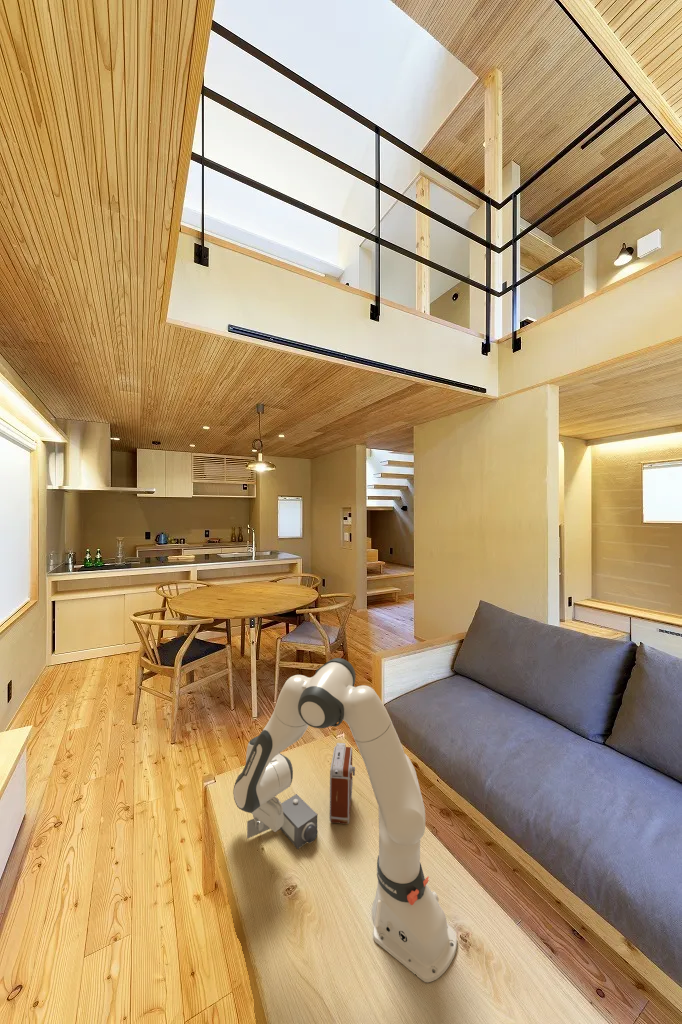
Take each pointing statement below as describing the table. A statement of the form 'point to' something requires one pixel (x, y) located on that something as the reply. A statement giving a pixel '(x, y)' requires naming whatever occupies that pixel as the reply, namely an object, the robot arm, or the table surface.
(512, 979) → the table surface
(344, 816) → the cine camera
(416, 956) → the robot arm
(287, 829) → the camera body
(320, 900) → the table surface
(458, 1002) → the table surface
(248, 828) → the side door
